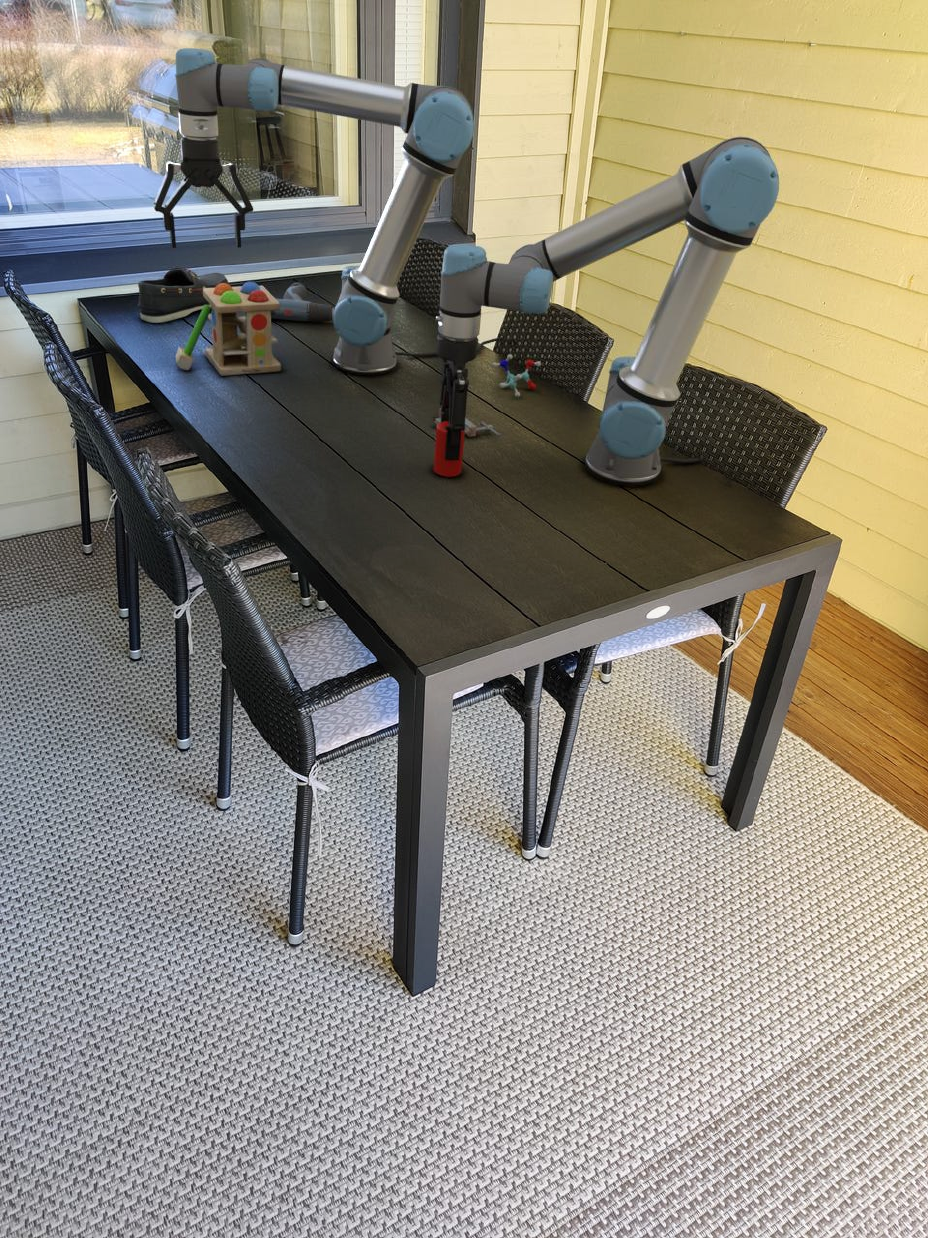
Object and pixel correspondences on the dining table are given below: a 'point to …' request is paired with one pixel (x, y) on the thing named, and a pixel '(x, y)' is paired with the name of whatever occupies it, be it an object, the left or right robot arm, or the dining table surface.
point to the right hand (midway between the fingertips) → (448, 452)
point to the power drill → (301, 307)
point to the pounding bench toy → (229, 347)
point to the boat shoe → (175, 294)
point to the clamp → (472, 427)
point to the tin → (440, 463)
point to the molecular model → (511, 377)
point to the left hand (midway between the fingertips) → (206, 246)
